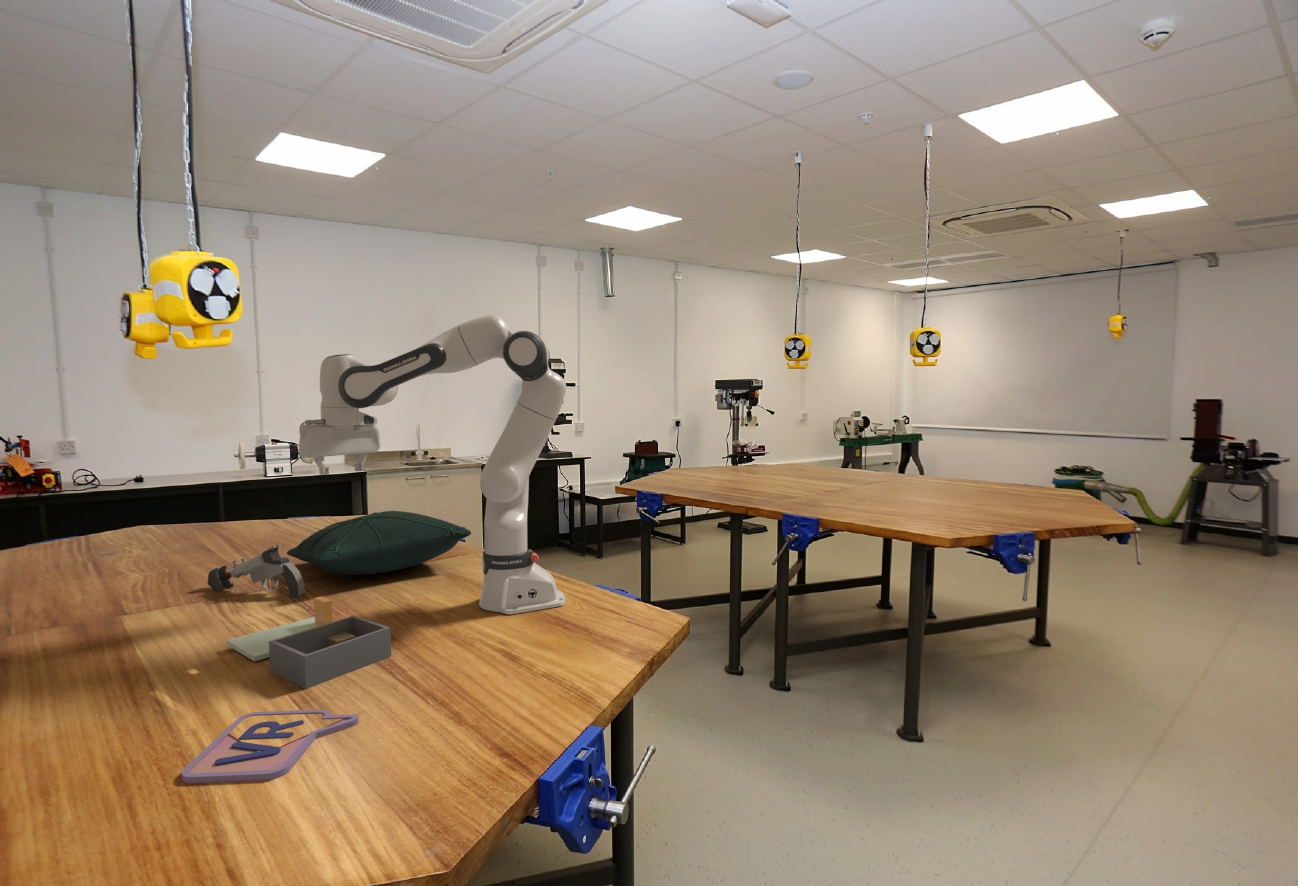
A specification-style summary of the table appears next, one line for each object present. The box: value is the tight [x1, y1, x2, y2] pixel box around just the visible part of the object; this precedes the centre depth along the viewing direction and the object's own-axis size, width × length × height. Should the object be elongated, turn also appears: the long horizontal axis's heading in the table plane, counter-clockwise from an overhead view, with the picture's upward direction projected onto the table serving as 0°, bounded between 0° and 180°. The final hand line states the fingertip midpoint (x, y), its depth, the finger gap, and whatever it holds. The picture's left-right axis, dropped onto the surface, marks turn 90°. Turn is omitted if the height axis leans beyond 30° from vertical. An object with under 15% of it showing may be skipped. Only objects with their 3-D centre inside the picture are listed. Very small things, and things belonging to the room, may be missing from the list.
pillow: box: [286, 510, 472, 576], centre depth 204 cm, size 44×18×44 cm
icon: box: [181, 709, 360, 784], centre depth 103 cm, size 19×2×20 cm
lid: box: [226, 596, 333, 662], centre depth 144 cm, size 19×14×8 cm
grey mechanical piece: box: [207, 543, 306, 599], centre depth 180 cm, size 6×28×16 cm, turn 76°
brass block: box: [326, 632, 356, 647], centre depth 136 cm, size 4×4×4 cm
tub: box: [268, 615, 392, 690], centre depth 132 cm, size 18×13×7 cm
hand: (341, 472), depth 166 cm, fingers open, 8 cm apart
